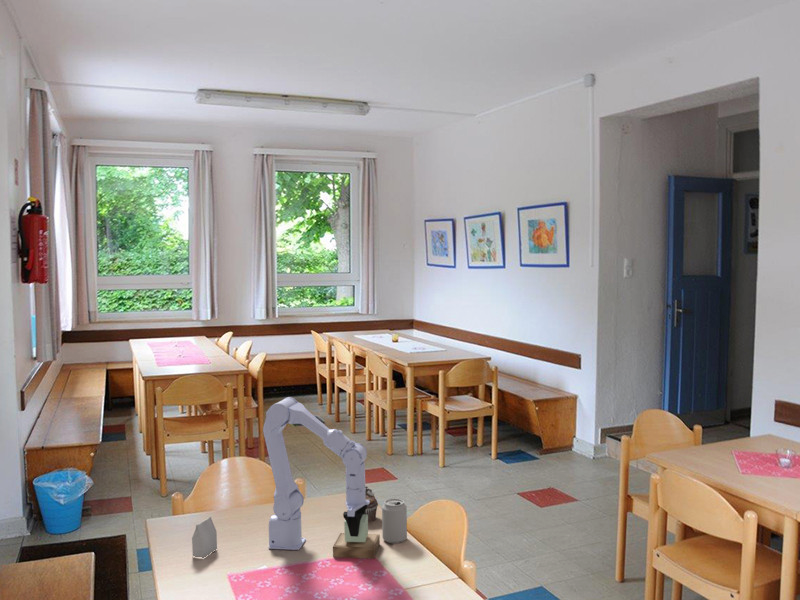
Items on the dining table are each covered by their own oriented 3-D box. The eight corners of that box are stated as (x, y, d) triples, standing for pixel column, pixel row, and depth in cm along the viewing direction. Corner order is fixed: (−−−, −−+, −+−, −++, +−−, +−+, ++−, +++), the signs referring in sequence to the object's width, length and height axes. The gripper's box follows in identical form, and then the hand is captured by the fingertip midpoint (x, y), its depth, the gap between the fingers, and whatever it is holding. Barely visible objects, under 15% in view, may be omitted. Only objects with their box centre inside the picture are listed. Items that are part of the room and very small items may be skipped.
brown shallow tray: (332, 556, 204) (332, 546, 204) (340, 542, 214) (340, 532, 214) (373, 558, 202) (373, 548, 202) (379, 544, 212) (379, 534, 212)
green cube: (344, 541, 205) (344, 521, 205) (348, 533, 211) (347, 514, 211) (365, 542, 205) (364, 522, 204) (368, 534, 211) (367, 514, 210)
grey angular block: (217, 550, 210) (216, 517, 209) (203, 559, 204) (202, 525, 203) (206, 548, 211) (205, 516, 211) (192, 557, 205) (191, 524, 204)
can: (404, 545, 211) (403, 506, 210) (380, 543, 213) (379, 504, 212) (409, 535, 219) (408, 497, 218) (385, 533, 220) (384, 496, 219)
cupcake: (343, 517, 234) (342, 488, 233) (367, 511, 240) (367, 482, 239) (359, 526, 226) (358, 496, 226) (384, 519, 232) (383, 489, 231)
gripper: (364, 495, 199) (365, 542, 200) (373, 478, 213) (374, 522, 214) (339, 494, 200) (340, 541, 201) (350, 478, 214) (351, 521, 215)
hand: (356, 531), depth 208 cm, fingers closed on green cube, 6 cm apart
